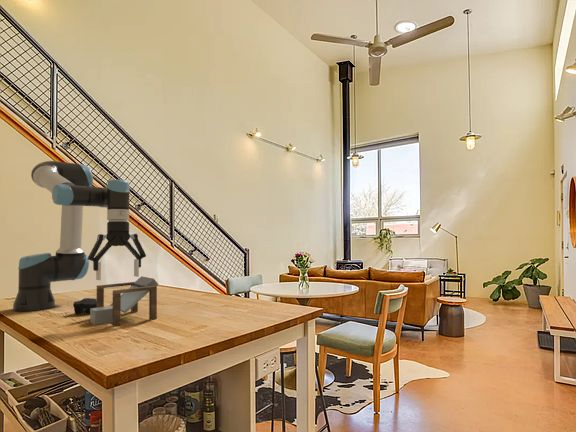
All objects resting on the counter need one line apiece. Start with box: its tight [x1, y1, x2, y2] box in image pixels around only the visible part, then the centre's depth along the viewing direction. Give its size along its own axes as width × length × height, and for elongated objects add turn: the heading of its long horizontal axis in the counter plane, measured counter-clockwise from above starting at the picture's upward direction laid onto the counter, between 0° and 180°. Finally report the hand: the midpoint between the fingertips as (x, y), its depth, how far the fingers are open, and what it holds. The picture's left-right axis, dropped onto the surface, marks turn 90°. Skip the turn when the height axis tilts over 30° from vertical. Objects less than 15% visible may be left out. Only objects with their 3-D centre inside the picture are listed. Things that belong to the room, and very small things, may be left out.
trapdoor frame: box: [96, 281, 158, 327], centre depth 141 cm, size 20×15×12 cm
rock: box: [72, 297, 97, 315], centre depth 153 cm, size 10×9×6 cm
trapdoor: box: [109, 276, 159, 314], centre depth 143 cm, size 15×16×3 cm
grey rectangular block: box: [89, 305, 113, 326], centre depth 136 cm, size 6×5×8 cm
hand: (118, 278), depth 140 cm, fingers open, 13 cm apart
